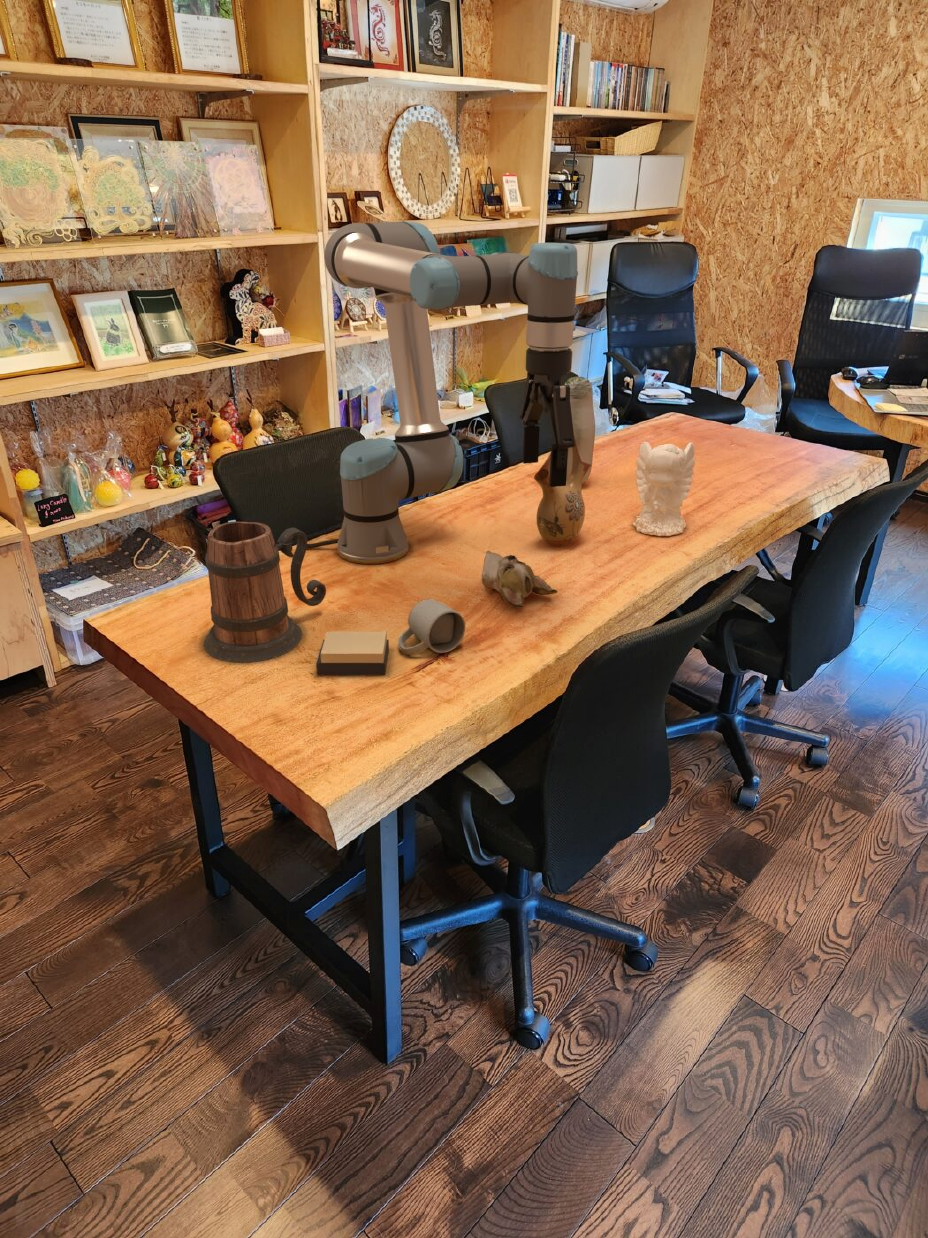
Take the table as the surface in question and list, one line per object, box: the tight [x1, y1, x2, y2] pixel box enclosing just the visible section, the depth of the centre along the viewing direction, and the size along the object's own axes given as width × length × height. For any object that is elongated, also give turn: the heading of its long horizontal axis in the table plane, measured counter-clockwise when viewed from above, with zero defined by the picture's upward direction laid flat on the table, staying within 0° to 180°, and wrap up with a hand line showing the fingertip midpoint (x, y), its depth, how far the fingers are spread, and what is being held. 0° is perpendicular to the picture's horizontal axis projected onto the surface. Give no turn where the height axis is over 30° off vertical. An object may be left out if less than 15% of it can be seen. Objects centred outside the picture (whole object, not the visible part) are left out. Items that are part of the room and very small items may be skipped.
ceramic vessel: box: [533, 436, 591, 547], centre depth 177 cm, size 16×9×25 cm, turn 132°
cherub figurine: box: [632, 441, 696, 537], centre depth 187 cm, size 13×12×20 cm
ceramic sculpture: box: [481, 550, 559, 609], centre depth 157 cm, size 11×9×15 cm
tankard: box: [203, 521, 327, 664], centre depth 142 cm, size 24×17×20 cm
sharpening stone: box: [315, 630, 390, 676], centre depth 136 cm, size 11×8×4 cm
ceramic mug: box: [397, 598, 466, 656], centre depth 140 cm, size 11×8×8 cm
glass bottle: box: [563, 376, 596, 485], centre depth 211 cm, size 10×10×28 cm
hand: (543, 473), depth 144 cm, fingers open, 13 cm apart
